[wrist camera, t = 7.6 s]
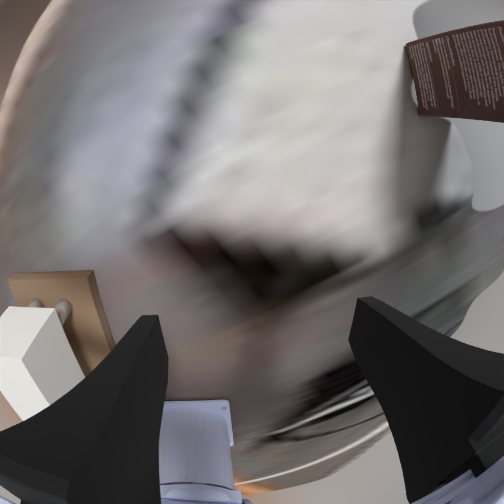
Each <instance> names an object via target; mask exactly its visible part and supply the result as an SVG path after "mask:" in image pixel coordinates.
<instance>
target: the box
mask: <svg viewBox="0 0 504 504" xmlns="http://www.w3.org/2000/svg"><path fill="white" fill-rule="evenodd" d="M406 48H407V51H408V55H409V59H410V64H411V68H412V73H413V78H414V83H415V89H416V95H417V101H418V108H419V115H420V116H425V117H428V116H431V117H450V118H463V119H474V120H485V121H493V122H502V123H504V20H503V21H496V22H489V23H485V24H479V25H474V26H469V27H465V28H461V29H457V30H452V31H448V32H445V33H440V34H437V35H433V36H429V37H426V38H422V39H418V40H415V41H412V42H409V43H407V44H406Z"/></svg>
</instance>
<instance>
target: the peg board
mask: <svg viewBox="0 0 504 504" xmlns="http://www.w3.org/2000/svg"><path fill="white" fill-rule="evenodd" d="M8 283H9V286H10V288H11V291H12V294H13V297H14V299H15V302H16V304H17V307H33V308H55V310H56V312H57V315H58V318H59V320H60V323H61V325H62V328H63V330H64V333H65V335H66V337H67V340H68V342H69V344H70V347H71V349H72V351H73V353H74V355H75V358H76V360H77V362H78V364H79V366H80V368H81V370H82V372H83V374H84V376H85V377H86V376H87V375H88V374H89V373H90V372H92V371H93V370H94V369H95V367H96V366H97V365H98V364H99V363H100V362H101V361H102V360H103V359H104V358H105V357H106V356H107V355H108V354H109V353H110V352H111V350H112V349H113V348H114V347H115V343H114V340H113V337H112V334H111V331H110V328H109V325H108V322H107V319H106V316H105V312H104V309H103V306H102V302H101V299H100V295H99V292H98V288H97V284H96V280H95V276H94V272H93V270H82V271H58V272H32V273H14V274H13V275H12V276H11V277H10V278H9V279H8Z"/></svg>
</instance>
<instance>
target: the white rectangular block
mask: <svg viewBox="0 0 504 504" xmlns="http://www.w3.org/2000/svg"><path fill="white" fill-rule="evenodd" d="M84 378H85V376H84V374H83V372H82V370H81V368H80V366H79V364H78V362H77V360H76V358H75V355H74V353H73V351H72V349H71V347H70V344H69V342H68V340H67V337H66V335H65V333H64V330H63V328H62V325H61V323H60V320H59V318H58V315H57V312H56V310H55V308H33V307H11V306H9V307H8V309H7V310H6V311H5V312H4V313H3V314H2V316H1V317H0V391H1V392H2V394H3V395H4V397H5V398H6V399H7V401H8V402H9V404H10V405H11V406H12V407H13V409H14V410H15V411H16V413H17V414H18V415H19V416H20V418H21V419H22V420H23V421H24V420H26V419H28V418H30V417H32V416H33V415H35V414H37V413H39V412H40V411H42V410H43V409H45V408H47V407H48V406H50V405H51V404H52V403H54V402H55V401H56V400H58V399H59V398H61V397H62V396H63V395H65V394H66V393H67V392H69V391H70V390H71V389H72V388H74V387H75V386H76V385H77V384H78V383H79V382H81V381H82V380H83V379H84Z"/></svg>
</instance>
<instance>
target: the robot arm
mask: <svg viewBox="0 0 504 504" xmlns="http://www.w3.org/2000/svg"><path fill="white" fill-rule="evenodd" d="M348 340H349V343H350V346H351V349H352V351H353V354H354V356H355V359H356V361H357V363H358V365H359V367H360V369H361V371H362V372H363V374H364V376H365V378H366V380H367V381H368V383H369V385H370V387H371V389H372V390H373V392H374V394H375V396H376V398H377V399H378V401H379V403H380V405H381V407H382V409H383V411H384V413H385V416H386V419H387V421H388V424H389V427H390V429H391V432H392V435H393V438H394V441H395V444H396V448H397V451H398V455H399V458H400V463H401V467H402V471H403V476H404V482H405V488H406V495H407V499H408V502H409V504H504V354H502V353H497V352H492V351H488V350H484V349H481V348H478V347H474V346H471V345H468V344H465V343H462V342H460V341H458V340H455V339H453V338H450V337H448V336H446V335H443V334H441V333H439V332H437V331H435V330H433V329H431V328H429V327H427V326H425V325H423V324H421V323H420V322H418V321H416V320H414V319H412V318H411V317H409V316H407V315H405V314H403V313H402V312H400V311H398V310H396V309H395V308H393V307H391V306H389V305H388V304H386V303H384V302H382V301H380V300H378V299H376V298H374V297H372V296H370V297H363V298H357V303H356V308H355V313H354V318H353V322H352V327H351V331H350V335H349V339H348ZM167 382H168V354H167V350H166V346H165V342H164V338H163V334H162V330H161V326H160V321H159V317H158V315H142V316H141V317H140V318H139V319H138V320H137V321H136V322H135V323H134V325H133V326H132V327H131V328H130V329H129V331H128V332H127V333H126V334H125V335H124V337H123V338H122V339H121V340H120V341H119V342H118V344H117V345H116V346H115V347H114V348H113V349H112V350H111V352H110V353H109V354H108V355H107V356H106V357H105V358H104V359H103V360H102V361H101V362H100V363H99V364H98V365H97V366H96V367H95V369H94V370H93V371H92V372H90V373H89V374H88V375H87V376H86V377H85V378H84V379H83V380H82V381H81V382H79V383H78V384H77V385H76V386H75V387H74V388H72V389H71V390H70V391H69V392H67V393H66V394H65V395H63V396H62V397H61V398H59V399H58V400H56V401H55V402H54V403H52V404H51V405H50V406H48V407H47V408H45V409H43V410H42V411H40V412H39V413H37V414H35V415H33V416H32V417H30V418H28V419H26V420H24V421H23V422H21V423H19V424H16V425H14V426H12V427H10V428H8V429H5V430H3V431H1V432H0V485H1V486H2V487H3V488H5V489H6V490H8V491H9V492H10V493H12V494H13V495H15V496H16V497H18V498H20V499H21V503H20V504H252V503H251V502H250V501H249V500H248V499H242V496H241V491H238V490H235V487H234V479H233V470H232V462H231V453H230V446H233V445H234V442H233V433H232V424H231V415H230V406H229V401H228V400H205V401H165V395H166V389H167ZM0 504H15V503H13V502H11V501H9V500H7V499H6V498H4V497H2V496H0Z"/></svg>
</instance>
